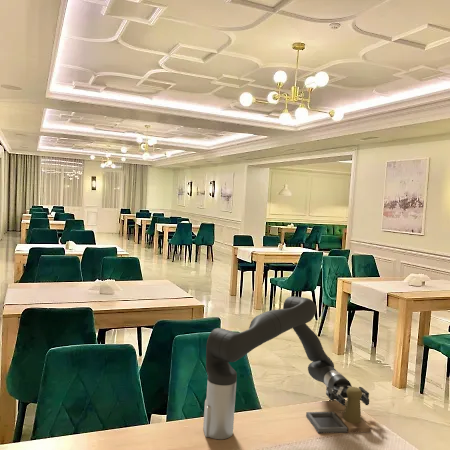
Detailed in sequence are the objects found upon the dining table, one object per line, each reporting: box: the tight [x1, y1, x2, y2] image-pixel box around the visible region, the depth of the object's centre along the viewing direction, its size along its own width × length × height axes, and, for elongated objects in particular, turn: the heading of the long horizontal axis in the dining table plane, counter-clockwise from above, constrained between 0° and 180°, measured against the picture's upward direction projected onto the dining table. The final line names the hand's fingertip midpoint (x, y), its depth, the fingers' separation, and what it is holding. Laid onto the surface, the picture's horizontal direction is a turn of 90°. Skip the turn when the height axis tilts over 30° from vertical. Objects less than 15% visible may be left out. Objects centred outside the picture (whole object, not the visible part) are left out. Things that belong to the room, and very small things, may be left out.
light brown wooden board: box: [333, 411, 372, 434], centre depth 165 cm, size 8×12×2 cm, turn 10°
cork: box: [343, 386, 362, 423], centre depth 165 cm, size 6×6×11 cm
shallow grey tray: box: [305, 411, 348, 434], centre depth 163 cm, size 10×12×2 cm
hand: (356, 402), depth 163 cm, fingers open, 8 cm apart
